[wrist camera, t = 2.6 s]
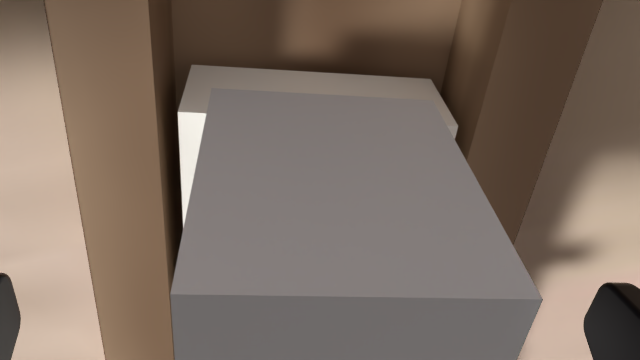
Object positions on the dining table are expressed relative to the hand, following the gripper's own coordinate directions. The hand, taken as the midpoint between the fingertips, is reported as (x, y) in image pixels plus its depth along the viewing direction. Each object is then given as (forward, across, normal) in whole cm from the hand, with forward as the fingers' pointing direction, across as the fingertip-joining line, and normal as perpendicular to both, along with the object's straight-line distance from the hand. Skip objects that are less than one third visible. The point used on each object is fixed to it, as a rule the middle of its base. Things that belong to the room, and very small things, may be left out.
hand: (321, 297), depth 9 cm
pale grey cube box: (+5, -1, +2) cm, 6 cm away
